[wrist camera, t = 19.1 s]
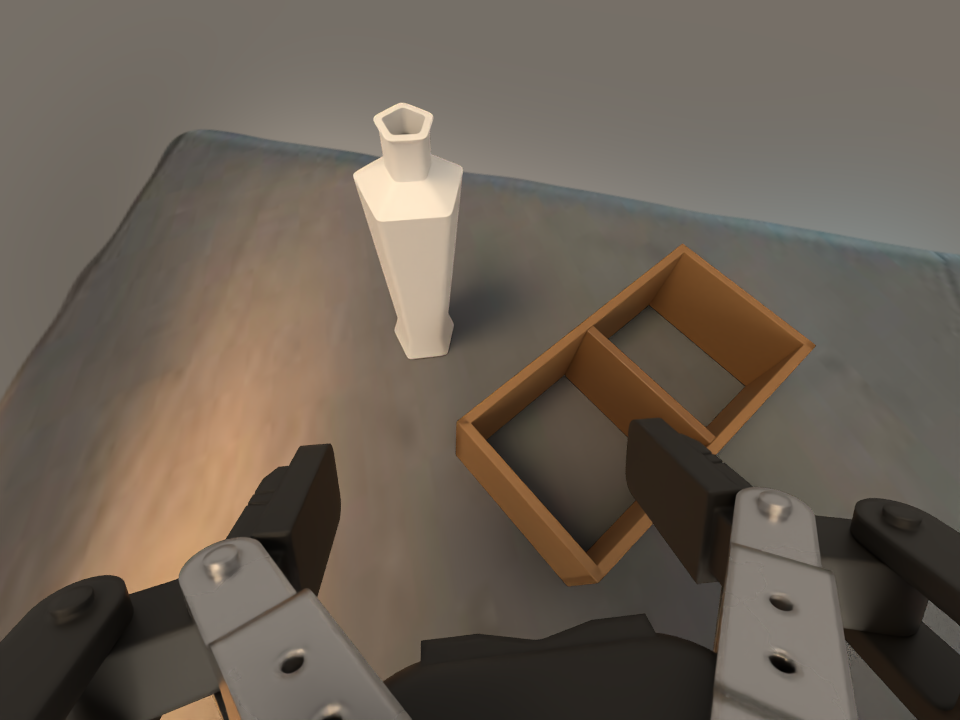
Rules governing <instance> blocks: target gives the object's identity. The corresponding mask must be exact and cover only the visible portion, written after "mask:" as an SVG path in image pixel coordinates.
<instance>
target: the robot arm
mask: <svg viewBox="0 0 960 720" xmlns="http://www.w3.org/2000/svg"><path fill="white" fill-rule="evenodd" d="M626 481H627V485H628V488H629V490H630V492H631V494H632V495H633V497H634V498H635V499H636V501H637V502H638V504H639V505H640V506H641V508H642V509H643V510H644V512H645V513H646V515H647V516H648V517H649V519H650V520H651V522H652V523H653V524H654V526H655V527H656V528H657V530H658V531H659V533H660V534H661V535H662V537H663V538H664V539H665V541H666V542H667V544H668V545H669V546H670V548H671V549H672V550H673V552H674V553H675V555H676V556H677V557H678V559H679V560H680V561H681V563H682V564H683V566H684V567H685V568H686V570H687V571H688V572H689V574H690V575H691V577H692V578H693V579H694V581H695V582H696V583H697V584H701V583H709V582H719V583H720V584H721V585H722V588H721V595H720V601H719V609H718V616H717V624H716V632H715V639H714V647H713V651H711V650H709V649H707V648H705V647H703V646H701V645H698V644H696V643H694V642H691V641H688V640H685V639H682V638H679V637H676V636H671V635H667V634H662V633H655V631H654V629H653V627H652V626H651V624H650V622H649V620H648V618H647V616H646V615H645V614H637V615H629V616H621V617H612V618H604V619H596V620H591V621H588V622H585V623H583V624H580V625H578V626H575V627H573V628H570V629H567V630H565V631H562V632H560V633H557V634H555V635H552V636H549V637H547V638H544V639H540V640H530V639H521V638H511V637H502V636H493V635H484V634H473V635H464V636H456V637H448V638H440V639H431V640H423V641H421V661H420V662H418V663H415V664H413V665H410V666H408V667H406V668H404V669H402V670H401V671H399V672H397V673H395V674H394V675H392V676H391V677H389V678H388V679H386V680H385V681H383V682H382V680H381V679H380V678H379V677H378V675H377V674H376V673H375V671H374V670H373V669H372V668H371V666H370V665H369V664H368V662H367V661H366V660H365V659H364V657H363V656H362V655H361V653H360V652H359V651H358V650H357V648H356V647H355V646H354V644H353V643H352V642H351V641H350V639H349V638H348V637H347V636H346V634H345V633H344V632H343V630H342V629H341V628H340V627H339V625H338V624H337V623H336V621H335V620H334V619H333V618H332V616H331V615H330V614H329V612H328V611H327V610H326V609H325V607H324V606H323V605H322V603H321V602H320V601H319V600H318V598H317V596H318V593H319V589H320V586H321V582H322V579H323V576H324V572H325V569H326V565H327V562H328V558H329V555H330V551H331V548H332V544H333V541H334V537H335V534H336V531H337V527H338V524H339V520H340V512H341V499H340V491H339V484H338V477H337V471H336V464H335V457H334V451H333V448H332V445H331V444H318V445H306V446H300V447H299V448H298V450H297V452H296V454H295V456H294V458H293V459H292V461H291V463H290V465H289V466H282V467H278V468H277V469H275V470H274V471H273V472H271V473H270V474H269V475H268V476H266V477H265V478H264V479H263V480H262V482H261V483H260V485H259V486H258V488H257V490H256V491H255V495H253V496H252V498H251V499H250V501H249V502H248V506H246V507H245V509H244V511H243V512H242V514H241V515H240V517H239V519H238V520H237V522H236V523H235V525H234V527H233V528H232V530H231V531H230V533H229V535H228V536H227V538H226V539H225V540H223V541H219V542H217V543H214V544H212V545H210V546H208V547H206V548H204V549H202V550H201V551H199V552H198V553H196V554H195V555H194V556H192V557H191V558H190V559H189V560H188V561H187V562H186V563H185V565H184V566H183V567H182V569H181V571H180V573H179V578H178V579H176V580H173V581H170V582H167V583H164V584H161V585H158V586H154V587H151V588H148V589H145V590H142V591H138V592H135V593H132V594H128V591H127V588H126V585H125V582H124V581H123V579H121V578H120V577H117V576H113V575H103V576H96V577H91V578H87V579H84V580H81V581H78V582H75V583H73V584H71V585H68V586H66V587H64V588H62V589H60V590H58V591H56V592H55V593H53V594H51V595H50V596H48V597H47V598H45V599H44V600H42V601H41V602H39V603H38V604H37V605H36V606H35V607H33V608H32V609H31V610H30V611H29V612H28V613H27V614H26V615H25V616H24V617H23V618H22V619H21V621H20V622H19V623H18V624H17V625H16V626H15V627H14V628H13V629H12V630H11V631H10V632H9V633H8V635H7V636H6V637H5V638H4V639H3V640H2V641H1V642H0V720H160V718H161V716H162V715H163V714H166V713H168V712H171V711H173V710H176V709H178V708H180V707H183V706H185V705H188V704H190V703H193V702H195V701H198V700H200V699H202V698H205V697H207V696H210V695H213V698H214V701H215V703H216V706H217V709H218V711H219V714H220V716H221V719H222V720H858V715H857V709H856V703H855V697H854V691H853V685H852V679H851V673H850V667H849V661H848V655H847V649H846V642H845V640H846V641H847V642H848V643H849V645H850V646H851V647H852V648H853V649H854V650H855V651H856V652H857V653H858V654H859V656H860V657H861V658H862V659H863V660H864V661H865V662H866V663H867V664H868V665H869V667H870V668H871V669H872V670H873V671H874V672H875V673H876V674H877V675H878V677H879V678H880V679H881V680H882V681H883V682H884V683H885V684H886V685H887V686H888V688H889V689H890V690H891V691H892V692H893V693H894V694H895V695H896V696H897V697H898V699H899V700H900V701H901V702H902V703H903V704H904V705H905V706H906V707H907V708H908V710H909V711H910V712H911V713H912V714H913V715H914V716H915V717H916V718H917V719H918V720H960V655H959V654H958V653H957V652H956V651H955V650H954V649H953V648H951V647H950V646H949V645H948V644H947V643H946V642H945V641H943V640H942V639H941V638H940V637H939V636H938V635H937V634H936V633H934V632H933V631H932V630H931V629H930V628H929V627H928V626H926V625H925V624H924V623H923V622H922V618H923V615H924V612H925V609H926V606H927V603H928V600H930V601H931V602H932V603H933V604H934V605H936V606H937V607H938V608H939V609H941V610H942V611H943V612H944V613H945V614H947V615H948V616H949V617H950V618H951V619H953V620H954V621H955V622H956V623H957V624H958V625H959V626H960V533H959V532H957V531H955V530H954V529H952V528H951V527H949V526H948V525H946V524H945V523H943V522H941V521H940V520H938V519H937V518H935V517H933V516H932V515H930V514H928V513H926V512H924V511H922V510H920V509H918V508H915V507H913V506H910V505H907V504H904V503H901V502H897V501H892V500H887V499H879V498H868V499H863V500H860V501H858V502H857V503H856V506H855V510H854V514H853V518H852V519H843V518H834V517H824V516H815V515H814V512H813V511H812V509H811V508H810V507H809V506H808V505H807V504H806V503H804V502H803V501H801V500H800V499H798V498H796V497H795V496H793V495H790V494H788V493H785V492H782V491H779V490H775V489H771V488H764V487H753V486H752V485H750V484H749V483H748V482H747V481H746V480H744V479H743V478H742V477H741V476H740V475H739V474H737V473H736V472H735V471H734V470H733V469H731V468H730V467H729V466H728V465H727V464H725V463H722V460H721V459H719V458H718V457H717V456H716V455H715V454H712V452H711V451H710V450H709V449H708V448H706V447H705V446H704V445H703V444H702V443H700V442H699V441H697V440H695V439H693V438H690V437H688V436H686V435H684V434H682V433H680V434H679V433H678V432H677V431H676V430H674V429H673V428H672V427H671V426H670V425H669V424H668V423H666V422H665V421H664V420H663V419H662V418H647V419H634V420H632V421H631V422H630V424H629V429H628V442H627V456H626Z"/></svg>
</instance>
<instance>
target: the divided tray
mask: <svg viewBox="0 0 960 720" xmlns="http://www.w3.org/2000/svg"><path fill="white" fill-rule="evenodd" d="M648 305H650V306H651V307H652V308H653V309H655V310H656V311H657V312H658V313H659V314H661V315H662V316H663V317H664V318H665V319H666V320H668V321H669V322H670V323H671V324H672V325H674V326H675V327H676V328H677V329H678V330H680V331H681V332H682V333H683V334H684V335H685V336H687V337H688V338H689V339H690V340H691V341H693V342H694V343H695V344H696V345H697V346H699V347H700V348H701V349H702V350H703V351H705V352H706V353H707V354H708V355H709V356H710V357H712V358H713V359H714V360H715V361H716V362H718V363H719V364H720V365H721V366H722V367H724V368H725V369H726V370H727V371H728V372H729V373H731V374H732V375H733V376H734V377H735V378H737V379H738V380H739V381H740V382H741V383H743V384H744V385H745V387H744V388H743V390H742V391H741V392H740V393H739V394H738V395H737V396H736V397H735V398H734V399H733V400H732V401H731V402H730V403H729V404H728V405H727V406H726V407H725V408H724V409H723V410H722V411H721V412H720V413H719V415H718V416H717V417H716V418H715V419H714V420H713V421H712V422H711V423H710V424H709V425H708V426H707V427H704V426H703V425H702V424H701V423H700V422H699V421H698V420H697V419H696V418H694V417H693V416H692V415H691V414H690V413H689V412H688V411H687V410H686V409H685V408H683V407H682V406H681V405H680V404H679V403H678V402H677V401H676V400H675V399H673V398H672V397H671V396H670V395H669V394H668V393H667V392H666V391H665V390H664V389H662V388H661V387H660V386H659V385H658V384H657V383H656V382H655V381H654V380H652V379H651V378H650V377H649V376H648V375H647V374H646V373H645V372H644V371H643V370H641V369H640V368H639V367H638V366H637V365H636V364H635V363H634V362H633V361H631V360H630V359H629V358H628V357H627V356H626V355H625V354H624V353H623V352H622V351H620V350H619V349H618V348H617V347H616V346H615V345H614V344H613V343H612V342H611V341H609V340H608V338H610V337H611V336H612V335H613V334H615V333H616V332H617V331H618V330H619V329H621V328H622V327H623V326H624V325H625V324H627V323H628V322H629V321H630V320H631V319H633V318H634V317H635V316H636V315H637V314H639V313H640V312H641V311H642V310H644V309H645V308H646V307H647V306H648ZM815 346H816V345H815V344H814V343H812V342H811V341H810V340H808V339H807V338H806V337H804V336H803V335H802V334H800V333H799V332H798V331H797V330H795V329H794V328H793V327H791V326H790V325H789V324H787V323H786V322H785V321H783V320H782V319H781V318H779V317H778V316H777V315H776V314H774V313H773V312H772V311H770V310H769V309H768V308H766V307H765V306H764V305H762V304H761V303H760V302H759V301H757V300H756V299H755V298H753V297H752V296H751V295H749V294H748V293H747V292H745V291H744V290H743V289H741V288H740V287H739V286H738V285H736V284H735V283H734V282H732V281H731V280H730V279H728V278H727V277H726V276H724V275H723V274H722V273H721V272H719V271H718V270H717V269H715V268H714V267H713V266H711V265H710V264H709V263H707V262H706V261H705V260H703V259H702V258H701V257H700V256H698V255H697V254H696V253H694V252H693V251H692V250H690V249H689V248H688V247H686V246H685V245H684V244H682V245H680V246H679V247H678V248H676V249H675V250H674V251H673V252H671V253H670V254H669V255H668V256H666V257H665V258H664V259H662V260H661V261H660V262H659V263H657V264H656V265H655V266H654V267H652V268H651V269H650V270H648V271H647V272H646V273H645V274H643V275H642V276H641V277H640V278H638V279H637V280H636V281H635V282H633V283H632V284H631V285H629V286H628V287H627V288H626V289H624V290H623V291H622V292H621V293H619V294H618V295H617V296H615V297H614V298H613V299H612V300H610V301H609V302H608V303H607V304H605V305H604V306H603V307H602V308H600V309H599V310H598V311H596V312H595V313H594V314H593V315H591V316H590V317H589V318H588V319H586V320H585V321H584V322H582V323H581V324H580V325H579V326H577V327H576V328H575V329H574V330H572V331H571V332H570V333H568V334H567V335H566V336H565V337H563V338H562V339H561V340H560V341H558V342H557V343H556V344H555V345H553V346H552V347H551V348H549V349H548V350H547V351H546V352H544V353H543V354H542V355H541V356H539V357H538V358H537V359H535V360H534V361H533V362H532V363H530V364H529V365H528V366H527V367H525V368H524V369H523V370H522V371H520V372H519V373H518V374H516V375H515V376H514V377H513V378H511V379H510V380H509V381H508V382H506V383H505V384H504V385H502V386H501V387H500V388H499V389H497V390H496V391H495V392H494V393H492V394H491V395H490V396H488V397H487V398H486V399H485V400H483V401H482V402H481V403H480V404H478V405H477V406H476V407H475V408H473V409H472V410H471V411H469V412H468V413H467V414H466V415H464V416H463V417H462V418H461V419H459V420H458V421H457V426H456V456H457V457H458V458H459V459H460V460H461V461H462V463H463V464H464V465H465V466H466V467H467V468H468V470H469V471H470V472H471V473H472V474H473V476H474V477H475V478H476V479H477V480H478V481H479V483H480V484H481V485H482V486H483V487H484V489H485V490H486V491H487V492H488V493H489V494H490V496H491V497H492V498H493V499H494V500H495V502H496V503H497V504H498V505H499V506H500V507H501V509H502V510H503V511H504V512H505V513H506V515H507V516H508V517H509V518H510V519H511V520H512V522H513V523H514V524H515V525H516V526H517V528H518V529H519V530H520V531H521V532H522V533H523V535H524V536H525V537H526V538H527V539H528V540H529V542H530V543H531V544H532V545H533V546H534V548H535V549H536V550H537V551H538V552H539V553H540V555H541V556H542V557H543V558H544V559H545V561H546V562H547V563H548V564H549V565H550V566H551V568H552V569H553V570H554V571H555V572H556V574H557V575H558V576H559V577H560V578H561V579H562V581H563V582H564V583H565V584H566V585H567V586H576V585H585V584H594V583H599V582H600V581H601V579H602V578H603V577H604V576H605V575H606V574H607V573H608V572H609V571H610V570H611V569H612V567H613V566H614V565H615V564H616V563H617V562H618V561H619V560H620V559H621V558H622V557H623V556H624V554H625V553H626V552H627V551H628V550H629V549H630V548H631V547H632V546H633V545H634V544H635V542H636V541H637V540H638V539H639V538H640V537H641V536H642V535H643V534H644V533H645V532H646V530H647V529H648V528H649V527H650V526H651V525H652V524H653V523H652V522H651V520H650V519H649V517H648V516H647V515H646V513H645V512H644V510H643V509H642V508H641V506H640V505H639V504H638V502H637V501H635V502H634V503H633V504H632V505H631V506H630V507H629V508H628V509H627V510H626V511H625V512H624V513H623V514H622V516H621V517H620V518H619V519H618V520H617V521H616V522H615V523H614V524H613V525H612V526H611V527H610V528H609V529H608V530H607V531H606V532H605V533H604V534H603V535H602V536H601V537H600V538H599V539H598V541H597V542H596V543H595V544H594V545H593V546H592V547H591V548H590V549H589V550H588V551H587V552H585V551H584V550H583V549H582V548H581V547H580V546H579V544H578V543H577V542H576V541H575V540H574V539H573V538H572V537H571V535H570V534H569V533H568V532H567V531H566V530H565V529H564V528H563V526H562V525H561V524H560V523H559V522H558V521H557V520H556V519H555V517H554V516H553V515H552V514H551V513H550V512H549V511H548V509H547V508H546V507H545V506H544V505H543V504H542V503H541V502H540V500H539V499H538V498H537V497H536V496H535V495H534V494H533V493H532V491H531V490H530V489H529V488H528V487H527V486H526V485H525V484H524V482H523V481H522V480H521V479H520V478H519V477H518V476H517V475H516V473H515V472H514V471H513V470H512V469H511V468H510V467H509V466H508V464H507V463H506V462H505V461H504V460H503V459H502V458H501V457H500V455H499V454H498V453H497V452H496V451H495V450H494V449H493V447H492V446H491V445H490V444H489V443H488V442H487V441H486V440H487V439H488V438H489V437H490V436H491V435H493V434H494V433H495V432H496V431H497V430H499V429H500V428H501V427H502V426H503V425H505V424H506V423H507V422H508V421H509V420H511V419H512V418H513V417H514V416H516V415H517V414H518V413H519V412H520V411H522V410H523V409H524V408H525V407H526V406H528V405H529V404H530V403H531V402H532V401H534V400H535V399H536V398H537V397H538V396H540V395H541V394H542V393H543V392H545V391H546V390H547V389H548V388H549V387H551V386H552V385H553V384H554V383H555V382H557V381H558V380H559V379H560V378H561V377H563V376H564V375H565V376H566V377H567V378H568V379H569V380H570V381H571V382H572V383H573V384H574V385H575V386H576V387H577V388H578V389H579V390H580V391H581V392H582V393H583V394H584V395H585V396H586V397H587V398H588V399H589V400H590V401H591V402H592V403H593V404H595V405H596V406H597V407H598V408H599V409H600V410H601V411H602V412H603V413H604V414H605V415H606V416H607V417H608V418H609V419H610V420H611V421H612V422H613V423H614V424H615V425H616V426H617V427H618V428H619V429H620V430H621V431H622V432H623V433H624V434H625V435H626V436H627V437H628V429H629V424H630V422H631V421H632V420H634V419H647V418H662V419H663V420H664V421H665V422H666V423H668V424H669V425H670V426H671V427H672V428H673V429H674V430H676V431H677V432H678V433H679V434H680V433H682V434H684V435H686V436H688V437H690V438H693V439H695V440H697V441H699V442H700V443H702V444H703V445H704V446H705V447H706V448H708V449H709V450H710V451H711V452H712V454H715V455H716V454H717V453H718V452H719V451H720V450H721V449H722V448H723V447H724V445H725V444H726V443H727V442H728V441H729V440H730V439H731V438H732V437H733V436H734V435H735V434H736V432H737V431H738V430H739V429H740V428H741V427H742V426H743V425H744V424H745V423H746V422H747V420H748V419H749V418H750V417H751V416H752V415H753V414H754V413H755V412H756V411H757V410H758V408H759V407H760V406H761V405H762V404H763V403H764V402H765V401H766V400H767V399H768V398H769V396H770V395H771V394H772V393H773V392H774V391H775V390H776V389H777V388H778V387H779V386H780V384H781V383H782V382H783V381H784V380H785V379H786V378H787V377H788V376H789V375H790V374H791V373H792V371H793V370H794V369H795V368H796V367H797V366H798V365H799V364H800V363H801V362H802V361H803V359H804V358H805V357H806V356H807V355H808V354H809V353H810V352H811V351H812V350H813V349H814V347H815Z"/></svg>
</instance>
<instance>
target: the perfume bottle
mask: <svg viewBox="0 0 960 720" xmlns="http://www.w3.org/2000/svg"><path fill="white" fill-rule="evenodd" d="M373 120H374V123H375V125H376V126H377V128H378V129H379V133H380V139H381V146H382V153H383V156H382V157H381V158H379V159H377V160H375V161H374V162H372V163H370V164H368V165H367V166H365V167H363V168H361V169H360V170H358V171H356V172H355V173H354V175H353V177H354V181H355V184H356V187H357V190H358V193H359V197H360V200H361V203H362V206H363V209H364V212H365V216H366V219H367V222H368V225H369V228H370V232H371V235H372V238H373V241H374V244H375V247H376V251H377V254H378V257H379V260H380V263H381V266H382V270H383V273H384V276H385V279H386V282H387V286H388V289H389V292H390V295H391V298H392V301H393V305H394V308H395V311H396V314H397V317H398V319H397V323H396V326H395V329H394V331H395V334H396V336H397V338H398V340H399V342H400V344H401V346H402V348H403V350H404V352H405V354H406V356H407V357H408V358H409V359H417V358H426V357H435V356H443V355H446V354H447V353H448V350H449V345H450V341H451V336H452V331H453V327H454V323H453V322H452V320H451V318H450V316H449V314H448V311H449V301H450V291H451V281H452V272H453V262H454V252H455V242H456V233H457V223H458V213H459V203H460V194H461V184H462V174H463V168H462V167H461V166H460V165H457V164H455V163H453V162H450V161H448V160H445V159H442V158H440V157H438V156H435V155H433V154H431V143H430V127H431V124H432V121H433V115H432V114H431V113H429V112H427V111H424V110H422V109H419V108H417V107H414V106H411V105H409V104H406V103H398V104H396V105H394V106H392V107H391V108H388V109H386V110H385V111H383V112H381V113H379V114H377V115H376V116H375V117H374V119H373Z"/></svg>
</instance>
